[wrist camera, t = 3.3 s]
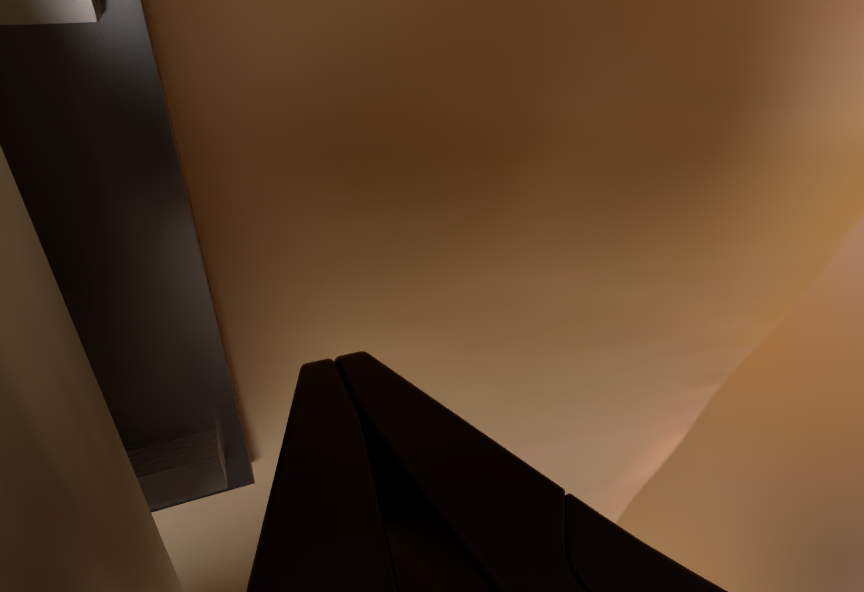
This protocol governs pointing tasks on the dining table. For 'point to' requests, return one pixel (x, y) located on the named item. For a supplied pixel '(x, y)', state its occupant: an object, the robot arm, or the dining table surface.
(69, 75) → the track
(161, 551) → the cart
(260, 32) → the dining table surface
